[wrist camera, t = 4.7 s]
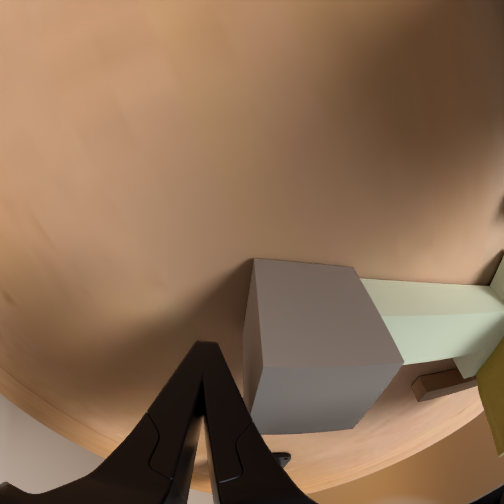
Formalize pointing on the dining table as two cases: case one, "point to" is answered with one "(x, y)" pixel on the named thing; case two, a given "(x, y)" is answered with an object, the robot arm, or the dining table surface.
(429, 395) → the bay
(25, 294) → the dining table surface
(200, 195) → the dining table surface
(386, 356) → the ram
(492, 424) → the flower pot
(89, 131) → the dining table surface
